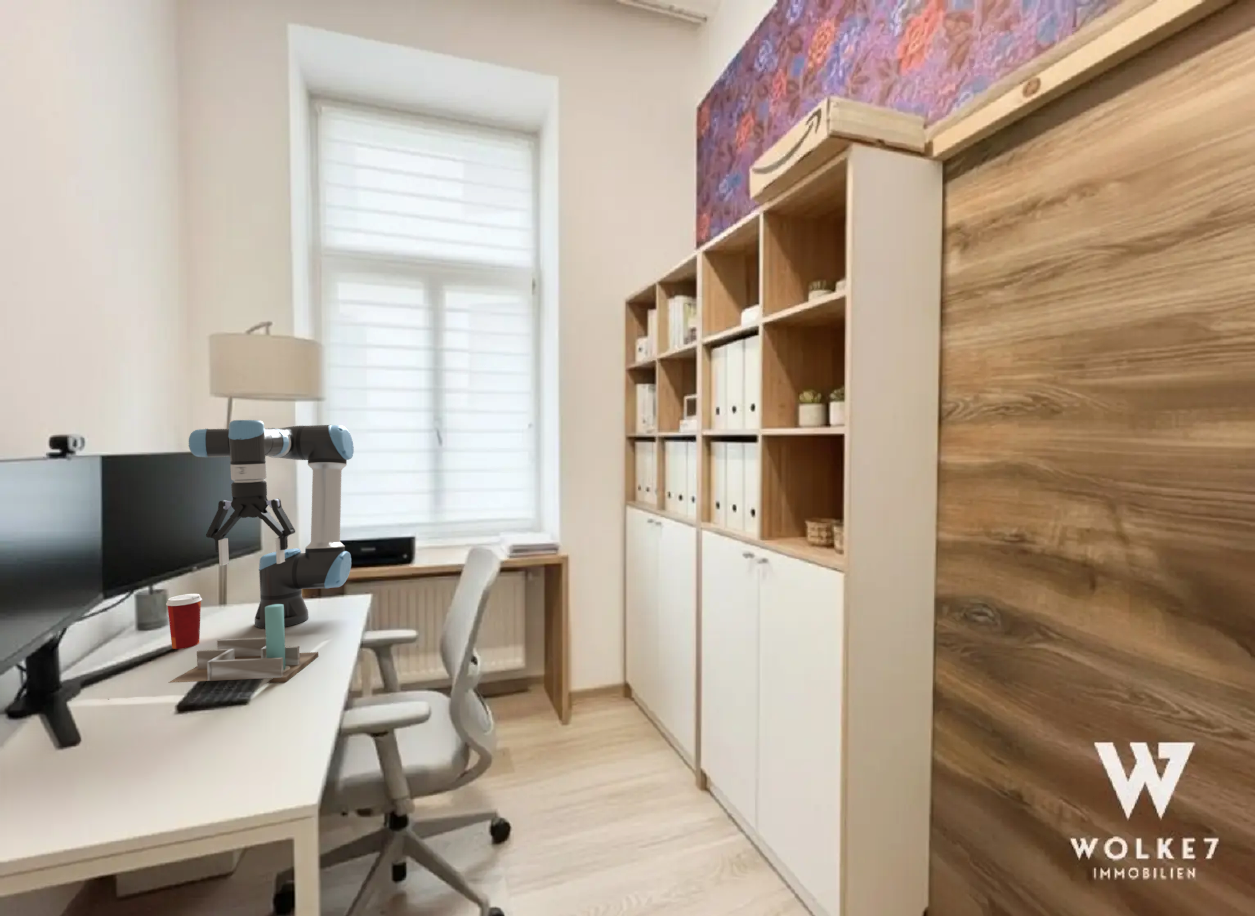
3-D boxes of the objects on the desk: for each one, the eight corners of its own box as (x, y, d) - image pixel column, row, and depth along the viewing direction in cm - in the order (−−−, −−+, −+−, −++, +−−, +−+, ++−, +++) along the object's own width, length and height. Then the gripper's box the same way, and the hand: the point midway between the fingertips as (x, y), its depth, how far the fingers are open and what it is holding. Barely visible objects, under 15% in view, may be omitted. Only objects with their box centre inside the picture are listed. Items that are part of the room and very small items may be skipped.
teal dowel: (272, 667, 146) (270, 604, 145) (288, 666, 146) (286, 603, 146) (263, 673, 142) (261, 608, 141) (280, 672, 142) (278, 608, 142)
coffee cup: (211, 644, 168) (209, 593, 168) (186, 654, 160) (184, 600, 160) (184, 643, 169) (182, 593, 169) (159, 654, 161) (157, 600, 160)
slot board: (214, 660, 155) (213, 639, 155) (318, 656, 157) (317, 635, 156) (168, 687, 138) (167, 663, 138) (285, 682, 140) (285, 658, 140)
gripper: (186, 483, 141) (190, 569, 142) (293, 480, 144) (297, 565, 145) (205, 480, 149) (209, 562, 150) (307, 478, 151) (310, 558, 152)
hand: (252, 563), depth 147 cm, fingers open, 13 cm apart
